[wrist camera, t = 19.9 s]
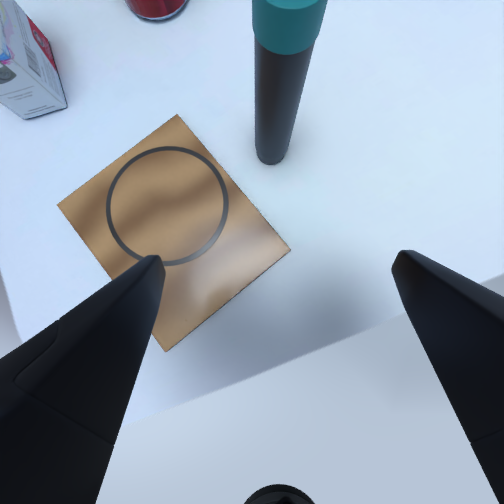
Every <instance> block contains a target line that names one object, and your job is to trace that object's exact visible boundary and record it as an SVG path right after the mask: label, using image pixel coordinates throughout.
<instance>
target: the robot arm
mask: <svg viewBox="0 0 504 504" xmlns="http://www.w3.org/2000/svg"><path fill="white" fill-rule="evenodd" d="M391 271H392V275H393V277H394V280H395V283H396V286H397V289H398V292H399V294H400V297H401V300H402V303H403V305H404V308H405V310H406V312H407V314H408V316H409V318H410V321H411V323H412V325H413V327H414V329H415V331H416V333H417V335H418V337H419V339H420V341H421V343H422V345H423V347H424V349H425V351H426V353H427V355H428V358H429V360H430V362H431V364H432V365H433V368H434V370H435V372H436V374H437V376H438V378H439V380H440V382H441V384H442V386H443V388H444V390H445V393H446V395H447V397H448V399H449V401H450V403H451V405H452V407H453V409H454V411H455V413H456V415H457V417H458V419H459V421H460V423H461V425H462V427H463V430H464V431H465V434H466V436H467V438H468V440H469V442H471V446H472V449H473V451H474V453H475V455H476V457H477V459H478V461H479V463H480V465H481V466H482V469H483V471H484V473H485V475H486V477H487V479H488V481H489V483H490V486H491V488H492V489H493V492H494V493H495V496H496V498H497V500H498V502H499V504H504V297H503V296H501V295H499V294H497V293H495V292H493V291H491V290H489V289H487V288H485V287H483V286H482V285H480V284H478V283H476V282H474V281H472V280H470V279H468V278H466V277H464V276H462V275H460V274H458V273H457V272H455V271H453V270H451V269H449V268H447V267H445V266H443V265H441V264H439V263H437V262H435V261H433V260H431V259H429V258H428V257H426V256H424V255H422V254H420V253H418V252H416V251H414V250H401V251H400V252H399V253H398V255H397V257H396V259H395V261H394V263H393V265H392V268H391ZM165 277H166V271H165V268H164V265H163V262H162V259H161V257H160V256H159V255H147V256H145V257H144V258H143V259H141V260H140V261H138V262H137V263H136V264H134V265H133V266H131V267H130V268H129V269H127V270H126V271H125V272H123V273H122V274H120V275H119V276H118V277H116V278H115V279H113V280H112V281H111V282H109V283H108V284H106V285H105V286H104V287H102V288H101V289H100V290H98V291H97V292H95V293H94V294H93V295H91V296H90V297H88V298H87V299H86V300H84V301H83V302H81V303H80V304H79V305H77V306H76V307H75V308H73V309H72V310H70V311H69V312H68V313H66V314H65V315H63V316H62V317H61V318H60V319H59V320H56V321H55V322H54V323H52V324H51V325H49V326H48V327H47V328H45V329H44V330H42V331H41V332H40V333H38V334H37V335H35V336H34V337H32V338H31V339H29V340H28V341H27V342H25V343H24V344H22V345H21V346H19V347H18V348H16V349H15V350H13V351H11V352H10V353H8V354H7V355H5V356H4V357H2V358H1V359H0V504H95V503H96V500H97V497H98V494H99V491H100V488H101V485H102V482H103V479H104V476H105V473H106V470H107V467H108V464H109V461H110V457H111V455H112V451H113V448H114V444H115V442H116V439H117V436H118V433H119V430H120V427H121V424H122V421H123V418H124V415H125V412H126V409H127V405H128V402H129V399H130V396H131V393H132V390H133V387H134V384H135V381H136V378H137V375H138V372H139V369H140V366H141V363H142V360H143V357H144V354H145V351H146V348H147V345H148V342H149V339H150V336H151V333H152V330H153V327H154V324H155V321H156V318H157V314H158V311H159V307H160V302H161V297H162V292H163V287H164V282H165ZM275 504H294V502H293V501H292V500H291V498H290V497H288V496H284V497H282V498H281V499H280V500H279V501H278V502H277V503H275Z"/></svg>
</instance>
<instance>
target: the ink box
mask: <svg viewBox="0 0 504 504" xmlns="http://www.w3.org/2000/svg"><path fill="white" fill-rule="evenodd" d="M0 103H1V104H2V105H4V106H5V107H7V108H8V109H9V110H11V111H12V112H14V113H15V114H17V115H18V116H19V117H21V118H22V119H27V118H32V117H35V116H39V115H42V114H45V113H48V112H52V111H55V110H59V109H62V108H66V107H67V104H66V101H65V97H64V94H63V90H62V87H61V84H60V80H59V77H58V73H57V70H56V67H55V63H54V60H53V56H52V53H51V50H50V46H49V43H48V40H47V38H46V37H45V36H44V35H43V34H42V32H41V31H40V30H39V29H38V28H37V26H36V25H35V24H34V23H33V22H32V21H31V19H30V18H29V17H28V16H27V15H26V14H25V12H24V11H23V10H22V9H21V7H20V6H19V5H18V4H17V3H16V2H15V1H14V0H0Z"/></svg>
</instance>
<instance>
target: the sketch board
mask: <svg viewBox="0 0 504 504" xmlns="http://www.w3.org/2000/svg"><path fill="white" fill-rule="evenodd" d="M57 206H58V207H59V209H60V210H61V211H62V213H63V214H64V215H65V217H66V218H67V220H68V221H69V222H70V224H71V225H72V226H73V228H74V229H75V230H76V232H77V233H78V234H79V236H80V237H81V239H82V240H83V241H84V243H85V244H86V245H87V247H88V248H89V249H90V251H91V252H92V253H93V255H94V256H95V257H96V259H97V260H98V262H99V263H100V264H101V266H102V267H103V268H104V270H105V271H106V272H107V274H108V275H109V276H110V278H111V279H112V280H113V279H115V278H116V277H118V276H119V275H120V274H122V273H123V272H125V271H126V270H127V269H129V268H130V267H131V266H133V265H134V264H136V263H137V262H138V261H140V260H141V259H143V258H144V257H145V256H147V255H159V256H160V257H161V259H162V262H163V265H164V268H165V271H166V277H165V282H164V287H163V292H162V297H161V302H160V307H159V311H158V314H157V318H156V321H155V324H154V327H153V330H152V335H153V336H154V337H155V339H156V340H157V342H158V343H159V344H160V346H161V347H162V348H163V350H164V351H165V352H167V351H168V350H169V349H171V348H172V347H173V346H174V345H175V344H177V343H178V342H179V341H180V340H182V339H183V338H184V337H185V336H186V335H188V334H189V333H190V332H191V331H193V330H194V329H195V328H196V327H197V326H199V325H200V324H201V323H202V322H204V321H205V320H206V319H207V318H208V317H210V316H211V315H212V314H213V313H215V312H216V311H217V310H218V309H219V308H221V307H222V306H223V305H224V304H226V303H227V302H228V301H229V300H230V299H232V298H233V297H234V296H235V295H237V294H238V293H239V292H240V291H241V290H243V289H244V288H245V287H246V286H248V285H249V284H250V283H251V282H252V281H254V280H255V279H256V278H257V277H259V276H260V275H261V274H262V273H263V272H265V271H266V270H267V269H268V268H270V267H271V266H272V265H273V264H274V263H276V262H277V261H278V260H279V259H281V258H282V257H283V256H284V255H285V254H287V253H288V252H289V251H290V250H291V249H290V248H289V247H288V246H287V244H286V243H285V242H284V241H283V240H282V239H281V237H280V236H279V235H278V234H277V233H276V231H275V230H274V229H273V228H272V227H271V225H270V224H269V223H268V222H267V221H266V219H265V218H264V217H263V216H262V215H261V213H260V212H259V211H258V210H257V209H256V207H255V206H254V205H253V204H252V203H251V202H250V200H249V199H248V198H247V197H246V196H245V194H244V193H243V192H242V191H241V190H240V188H239V187H238V186H237V185H236V184H235V182H234V181H233V180H232V179H231V178H230V176H229V175H228V174H227V173H226V172H225V170H224V169H223V168H222V167H221V166H220V165H219V163H218V162H217V161H216V160H215V159H214V157H213V156H212V155H211V154H210V153H209V151H208V150H207V149H206V148H205V147H204V145H203V144H202V143H201V142H200V141H199V139H198V138H197V137H196V136H195V135H194V133H193V132H192V131H191V130H190V129H189V128H188V126H187V125H186V124H185V123H184V122H183V120H182V119H181V118H180V117H179V116H178V114H176V115H175V116H174V117H172V118H171V119H170V120H168V121H167V122H166V123H164V124H163V125H162V126H160V127H159V128H158V129H156V130H155V131H154V132H152V133H151V134H150V135H148V136H147V137H146V138H144V139H143V140H142V141H140V142H139V143H138V144H136V145H135V146H134V147H132V148H131V149H130V150H128V151H127V152H126V153H125V154H123V155H122V156H121V157H119V158H118V159H117V160H115V161H114V162H113V163H111V164H110V165H109V166H107V167H106V168H105V169H103V170H102V171H101V172H99V173H98V174H97V175H95V176H94V177H93V178H91V179H90V180H89V181H87V182H86V183H85V184H83V185H82V186H81V187H79V188H78V189H77V190H75V191H74V192H73V193H71V194H70V195H69V196H67V197H66V198H65V199H64V200H62V201H61V202H60V203H58V204H57Z"/></svg>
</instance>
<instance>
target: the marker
mask: <svg viewBox="0 0 504 504" xmlns="http://www.w3.org/2000/svg"><path fill="white" fill-rule="evenodd" d="M327 1H328V0H252V25H253V31H254V35H255V147H256V150H257V155H258V157H259V159H260V160H261V161H262V162H263V163H265V164H268V165H273V164H277V163H278V162H280V161H281V160H282V158H283V157H284V154H285V152H286V151H287V149H288V146H289V142H290V138H291V134H292V130H293V126H294V122H295V118H296V114H297V110H298V106H299V102H300V98H301V94H302V91H303V87H304V83H305V79H306V75H307V71H308V67H309V63H310V59H311V55H312V51H313V47H314V43H315V40H316V38H317V36H318V34H319V31H320V28H321V24H322V20H323V16H324V12H325V9H326V5H327Z"/></svg>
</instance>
